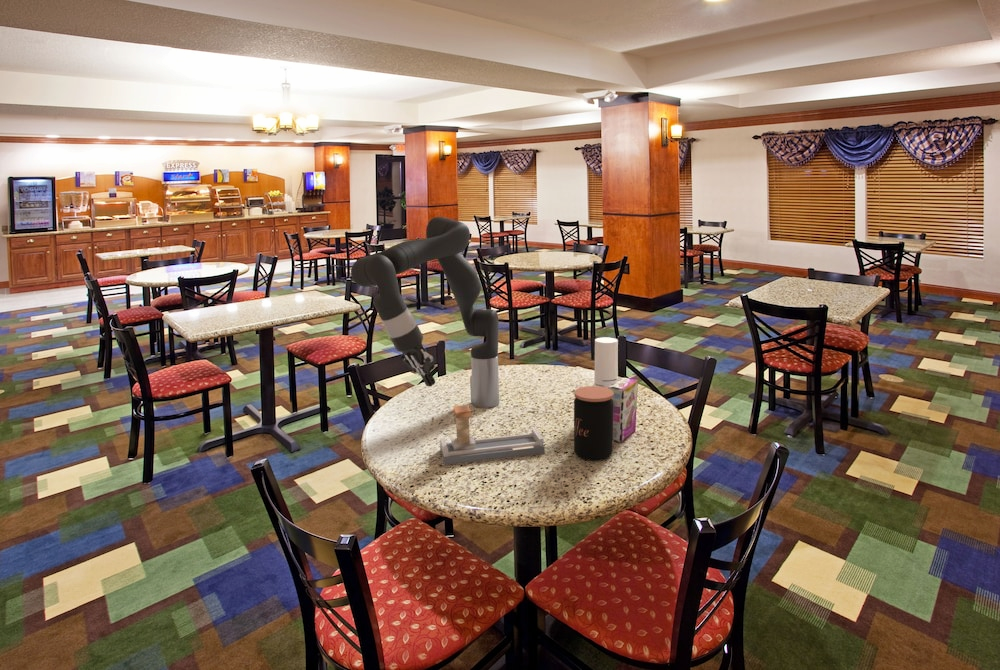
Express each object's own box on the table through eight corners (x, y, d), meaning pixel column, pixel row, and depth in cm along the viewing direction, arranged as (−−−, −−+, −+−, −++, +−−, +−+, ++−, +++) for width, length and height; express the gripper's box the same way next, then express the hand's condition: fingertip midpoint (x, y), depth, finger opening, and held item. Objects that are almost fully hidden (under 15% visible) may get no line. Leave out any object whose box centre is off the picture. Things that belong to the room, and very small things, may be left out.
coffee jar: (570, 446, 172) (570, 386, 168) (607, 444, 173) (608, 385, 169) (578, 463, 162) (578, 399, 158) (617, 460, 163) (618, 397, 159)
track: (444, 465, 163) (444, 451, 162) (440, 450, 172) (439, 437, 171) (544, 453, 168) (544, 440, 168) (534, 439, 178) (534, 426, 177)
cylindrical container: (616, 419, 192) (617, 343, 186) (593, 418, 193) (594, 342, 188) (616, 411, 199) (617, 337, 193) (594, 410, 200) (595, 337, 194)
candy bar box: (622, 443, 174) (623, 389, 170) (606, 440, 176) (607, 386, 173) (637, 430, 183) (638, 379, 179) (621, 427, 185) (622, 376, 182)
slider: (454, 452, 165) (452, 412, 162) (451, 445, 170) (449, 406, 167) (475, 449, 166) (474, 410, 164) (472, 442, 171) (471, 404, 168)
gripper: (428, 321, 149) (456, 378, 155) (397, 320, 158) (425, 374, 165) (407, 337, 144) (437, 395, 151) (377, 336, 154) (406, 390, 161)
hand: (431, 384), depth 158 cm, fingers closed
